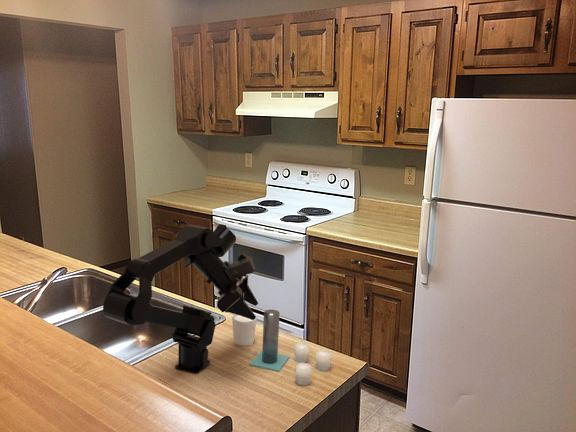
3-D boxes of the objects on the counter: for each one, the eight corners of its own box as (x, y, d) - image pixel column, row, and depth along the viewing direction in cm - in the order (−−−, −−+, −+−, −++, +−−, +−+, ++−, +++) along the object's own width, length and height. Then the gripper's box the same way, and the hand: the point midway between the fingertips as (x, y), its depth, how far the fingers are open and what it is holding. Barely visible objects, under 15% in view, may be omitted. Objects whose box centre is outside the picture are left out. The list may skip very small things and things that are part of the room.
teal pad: (249, 365, 124) (249, 363, 124) (261, 351, 132) (261, 350, 132) (279, 371, 122) (279, 370, 122) (289, 357, 129) (289, 356, 129)
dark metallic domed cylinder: (259, 361, 125) (261, 314, 123) (265, 355, 129) (267, 308, 127) (274, 364, 124) (276, 316, 122) (279, 358, 128) (281, 311, 125)
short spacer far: (314, 369, 124) (314, 354, 123) (317, 363, 127) (318, 348, 126) (327, 372, 123) (328, 357, 122) (331, 365, 126) (332, 351, 125)
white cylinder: (226, 342, 136) (227, 319, 135) (240, 333, 142) (240, 311, 141) (247, 348, 133) (248, 324, 132) (260, 339, 139) (261, 316, 138)
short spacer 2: (297, 386, 115) (299, 370, 115) (293, 378, 119) (294, 363, 118) (312, 384, 116) (313, 369, 116) (306, 377, 120) (308, 362, 119)
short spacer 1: (292, 361, 127) (293, 347, 126) (296, 355, 131) (297, 341, 130) (305, 364, 126) (306, 349, 125) (309, 358, 129) (310, 344, 129)
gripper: (232, 257, 112) (278, 304, 114) (239, 237, 130) (279, 279, 132) (197, 288, 113) (243, 335, 115) (209, 264, 131) (249, 305, 134)
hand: (255, 311), depth 124 cm, fingers open, 9 cm apart
